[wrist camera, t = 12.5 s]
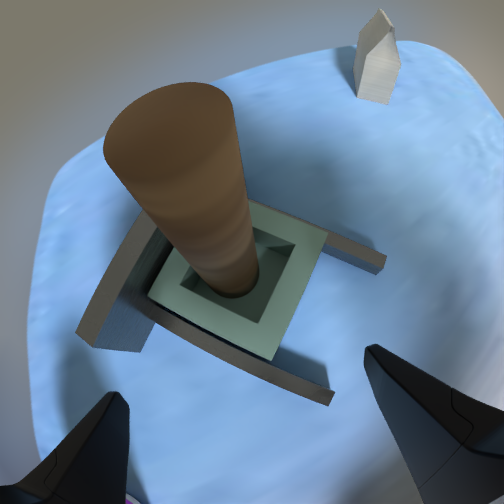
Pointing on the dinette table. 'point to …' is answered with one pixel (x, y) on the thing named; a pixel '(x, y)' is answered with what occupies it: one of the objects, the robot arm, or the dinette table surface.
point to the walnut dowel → (189, 179)
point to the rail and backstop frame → (149, 311)
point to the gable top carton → (376, 60)
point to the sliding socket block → (264, 293)
